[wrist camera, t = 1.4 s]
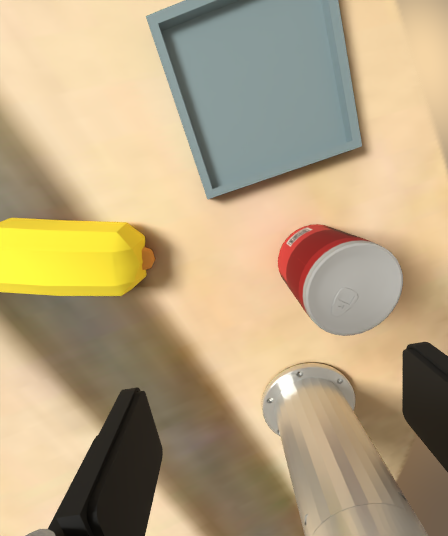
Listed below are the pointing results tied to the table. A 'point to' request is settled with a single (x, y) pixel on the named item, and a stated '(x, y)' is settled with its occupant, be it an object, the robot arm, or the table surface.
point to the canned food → (340, 278)
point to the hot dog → (71, 257)
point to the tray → (257, 85)
